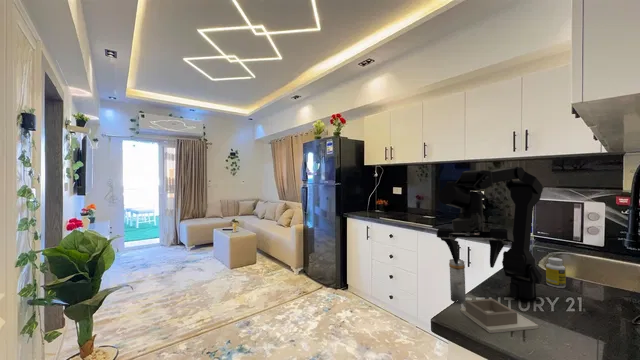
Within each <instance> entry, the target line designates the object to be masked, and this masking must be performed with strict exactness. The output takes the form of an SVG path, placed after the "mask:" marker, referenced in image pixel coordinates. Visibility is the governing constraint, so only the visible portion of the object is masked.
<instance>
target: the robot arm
mask: <svg viewBox="0 0 640 360" xmlns="http://www.w3.org/2000/svg"><path fill="white" fill-rule="evenodd" d="M500 182H505V187H506V189H507V190H508V191H509V197H510V199H511V201H512V203H513V204H514V210H513V211H514V214H513V223H512V231H510V230H508V229H506V228H490V229H489V231H486V230H485V228H484V220H485V215H484V212H483V211H484V210H483V209H484V208H483V207H484V206H483V200H484V199H487V196H486V194H484V193H483V192H482V191H481V190H486V189H489V188H491V187H493V184H496V183H500ZM543 190H544V189H543V185H542V183H541V182H540V181H539V179H538V178H537V177H536V176H534V175H532V174H530V173H529V172H527V171H526V170H525V169H524V168H523V167H521V166H507V167H504V168H499V169H493V170H485V169H478V170H477V169H475V170H465V171H462V172H461V175H459V177H458V178H457V180H456V181H447V182H446V184H445V186H443V187H442V188H441V190H440V191H439V194H438V199H439V201H440V203H442V204H443V205H446V206H450V207H453V208H456V209H460V212H459V213H458V218H455V219H452V220H451V223H452V228H447V227H446V228H443V227H442V228H441V227H439V228H438V229H437V230H436V238H439V239H440V240H441V241H443V242H445V244H446V245H447V247H448V249H449V251H450V254H451V257H452V259H453V260H454V262H455V264H458V259H459V241H458V240H457V239H458V238H459V239H460V238H461V239H463V238H466V239H469V238H470V239H488V244H489V247H490V248H489V265H490V266H489V267H490V268H492V269H493V268H494V266H495V265H496V262H497V260H498V258H499V255H500V253H501V251H502V250H503V249H504V246H508V245H509V243H511V245H510V248H509V249H508V250H504V251H503V254H502V261H501V264H502V268H503V272H504V274H505V277H509V278H510V282H509V292H507V295H508V296H510V297H512V298H513V299H516V300H518V301H521V302H522V303H526V302H527V303H528V302H529V303H530V302H538V301H539V302H541V300H542V299H541V298H540V297H537V292H536V291H537V287H536V286H537V285H541V283H542V280H543V274H541V272H540V270H538V268H537V267H536V259H535V257H534V256H533V254H532V252H531V251H530V249H531V248H530V247H531V236H532V227H533V226H532V224H533V216H534V208H535V206H536V205H537V204H538V203H539V202H540V200H541V197H542V193H543Z"/></svg>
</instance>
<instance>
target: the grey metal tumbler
mask: <svg viewBox="0 0 640 360" xmlns="http://www.w3.org/2000/svg"><path fill="white" fill-rule="evenodd" d="M448 267H449V282H450V284H449V286H450V289H449V290H450V300H451V302H454V303H456V301H457V300H458V301H457V303H458V304H465V301H467V300H466V299H467V296H466V274H465V273H466V271H465V268H466V266H465V261H464V260H462V259H459V258H458V264H455V262H454V260H453V258H452V259H451V258H450V259H449V263H448Z"/></svg>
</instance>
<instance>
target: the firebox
mask: <svg viewBox="0 0 640 360" xmlns="http://www.w3.org/2000/svg"><path fill="white" fill-rule="evenodd" d="M464 304H465V307H462V308H460V309H459V310H460V312H461V313H462V314H463V315H465V316H466V317H467V318H469V319H470V320H471V321H473V322H474V323H475V324H477V325H478V326H480V327H481V328H483V329H484V330H485V331H486V332H488V333H489V334H496V333H497V334H498V333H504V332H505V333H506V332H515V331H527V330H535V329H536V330H537V329H539V324H537V323H535V322H534V321H532V320H530V319H528V318H526V317H525V316H523V315H521V314H520V313H518V312H517V311H515V310H513V309H512V308H510V307H508V306H506V305H505V304H503V303H501V302H499V301H498V300H496V299H494V298H484V299H483V298H482V299H470V300H468V299H467V300H466V301H465V303H464Z"/></svg>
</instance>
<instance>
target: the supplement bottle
mask: <svg viewBox="0 0 640 360" xmlns="http://www.w3.org/2000/svg"><path fill="white" fill-rule="evenodd" d="M547 262H548V263H546V264H545V279H546V281H545V282H546V284H547V285H548V286H549V287H553V288H558V289H565V288H566V283H567V281H566V280H567V278H566V277H567V276H566V267H565V266H564V265H563V264H564V262H563V259H562V258H558V257H548V260H547Z"/></svg>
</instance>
